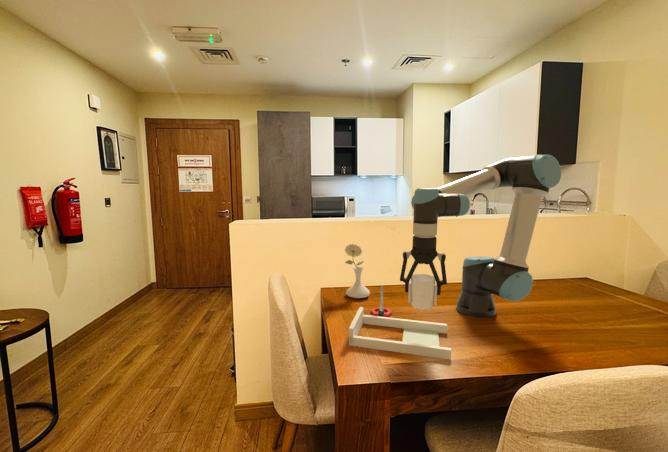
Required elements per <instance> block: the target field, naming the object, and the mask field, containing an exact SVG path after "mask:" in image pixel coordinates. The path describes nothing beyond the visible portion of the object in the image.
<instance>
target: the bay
mask: <svg viewBox="0 0 668 452" xmlns="http://www.w3.org/2000/svg"><path fill="white" fill-rule="evenodd" d="M364 309H365V308H364V307H363V306H359V308H358V310H357V312H356V314H355V315H354V317H353V319H352V321H351V323H350V325H349V327H348V346H349V347H350V346H351V347H357V346H358V348H364V349H365V348H366V349H373V350H379V351H386V352H394V353H402V354H408V355H415V356H422V357H423V356H424V357H429V358H430V357H431V358H436V359H437V358H438V359H444V360H449V361H451V360H452V348H451V347H448V346H447V347H446V346H440V338H439V334H448V324H447V323H444V322H443V323H442V322H432V321H425V320H424V321H422V320H414V319H406V318H405V319H404V318H396V317H381V316H373V314H372V315H371V314H365V313H364V312H365V311H364ZM363 325H371V326H372V325H373V326H379V327H380V326H381V327H388V328H398V329H403V335H402V341H400V340H393V339H386V338H377V337H368V336H361V335H359V334H360V331H361V329H362V326H363Z"/></svg>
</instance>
